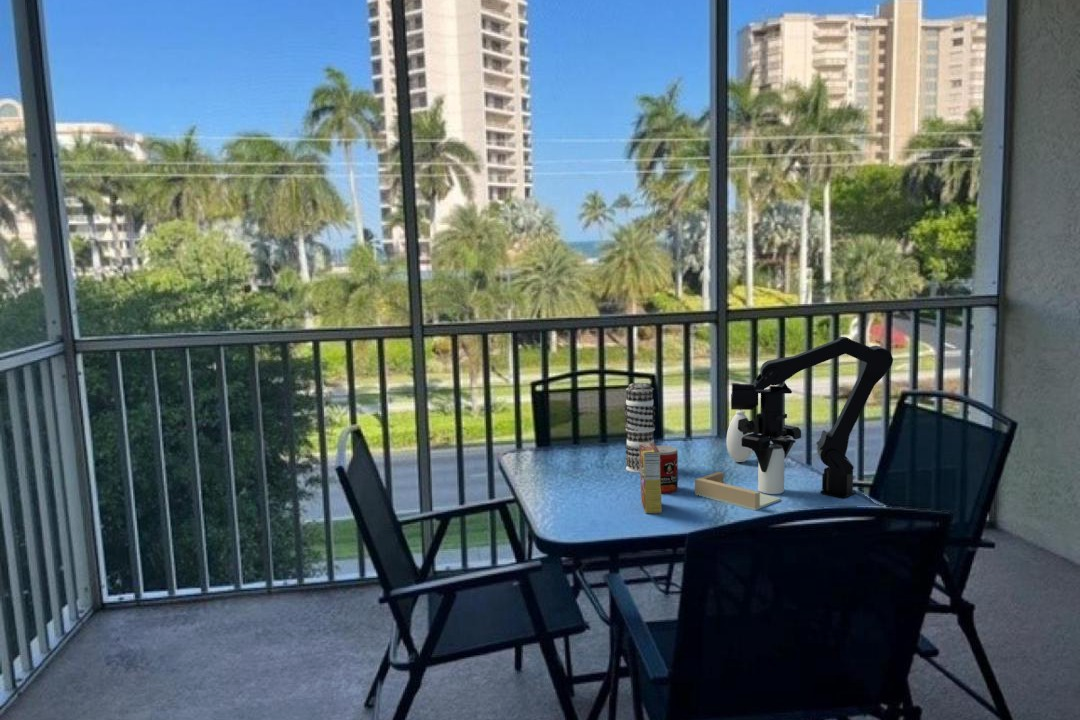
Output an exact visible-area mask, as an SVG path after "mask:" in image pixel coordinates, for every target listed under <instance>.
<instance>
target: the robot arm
mask: <svg viewBox="0 0 1080 720" xmlns="http://www.w3.org/2000/svg"><path fill="white" fill-rule="evenodd" d="M843 355H848V356H850V357H852V358H855V359H857V360H859V361H860V364H859V369H858V377H857V379H856V381H855V383H854V385H853V387H852V389H851V391H850V394H849V395H848V398H847V399H846V401H845V403H844V405H843V406H842V409H841V411H840V413H839V416H838V417H837V419H836V421H835V423H834V425H833V427H832V428H830V430H829V431H826V430H825V429H823V430H822V431H821V435H820V437H819V439H818V441H816V442H815V444H816V445H817V447H816V453H817V455H818V456H819V458H820V460H821V462H822V464H823V465H824V466H827V467H824V468H823V473H822V474H821V477H822V479H821V480H822V481H821V489H822V490H820V491H819V492H820V494H824V495H827V496H832V497H835V498H840V499H845V498H847V497H850V496H852V495H855V494H857V493H856V492H857V491H856V490H853V489H854V468H855V466H854V465H853V464H852V462H851V461H850V459H849V458H848V457H847V456H846V455H847V450H848V448H849V447H848V446H849V442H850V441H849V439H850V436H851V434H852V433H851V432H852V431H853V429H854V427H855V425H856V423H857V421H858V420H859V417H860V415H861V413H862V411H863V409H864V408H865V405H866V404H867V402H868V400H869V397H870V395H871V393H872V391H873V389H874V387H875V385H876V384H878V382H880V380H881V379H883V378H884V376H885V375H886V374H887V372H888V371H889V370H890V368H891V367H892V366H893V363H894V362H893V361H894V358H893V354H892V353H891V352H890V351H889V350H888V349H885V348H884V347H882V346H879V345H872V346H868V345H867V344H866V345H865V344H863V343H860V342H858V341H854V340H852V339H851V338H849V337H847V336H839V337H838V338H837V339H835V340H832V341H830V342H827V343H824V344H822V345H819V346H816V347H814V348H811V349H808V350H806V351H803V352H800V353H797V354H795V355H793V356H786V357H780V358H774V359H769V360H767V361H764V362H763V363H762V365H761V366H760V371H759V372H760V373H759V374H758V376H756V378H755V379H754V381H752V383H738V382H733V383H731V394H730V410H731V411H733V410H735V411H739V410H741V411H745V410H746V411H750V410H751V411H754V409H755V408H757V407H758V406H759V394H760V412H759V413H756V415H755V419H752V420H751V419H750V420H749V418H748V417H747V418H748V419H747V418H744V419H741V420H738V430H739V431H740V432H742V433H743V435H745V434H747V433H752V432H753V434H748V435H745V436H744V437H743V438H741V446H743V447H748V448H750V449H752V450H753V451H752V452H754V454H755V455H756V459H757V461H758V462H759V465H760V468H761V471H762V472H766V471H767V468H768V465H769V462H770V458H771V455H772V451H773V448H772V447H769V446H770V444H778V445H782V446H783V450H784V453H785V459H786V457H788V454H789V452H790V451H791V449H792V447H793V446H794V444H795V443H796V440H798V439H802V430H801V429H800V428H799V427H798V426H796V425H795V426H794V425H788V424H785V423H784V421H785V420H784V419H787V418H788V413H785V412H784V410H785V408H784V407H785V394H792V393H793V391H792V389H791V388H790V387H789V386H788V385H787V384H786V383H785V381H787V380H789V379H791V378H792V377H793V376H795V375H796V374H797V373H799V372H801V371H803V370H806V369H809V368H811V367H814V366H816V365H819V364H822V363H824V362H827V361H830V360H832V359H835V358H837V357H840V356H843ZM780 384H781V385H780ZM768 387H769V388H768ZM771 442H772V443H771Z"/></svg>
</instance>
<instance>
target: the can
mask: <svg viewBox="0 0 1080 720" xmlns="http://www.w3.org/2000/svg"><path fill="white" fill-rule="evenodd" d="M769 447H772V448H773V451H772V455H771V458H770V462H769V465H768V468H767V471H766V472H762V471H761V468H760V465H759V462H758V465H757V466H758V469H757V471H758V472H757V473H758V475H757V476H758V477H757V478H758V479H757V480H758V481H757V483H758V484H757V487H758V488H757V489H758V492H760V493H761V494H765V495H769V496H775V495H781V493H782V494H783V493H784V492H785V462H786V461H785V460H786V458H785V453H784V450H783V446H782V445H778V444H773V443H770V446H769Z"/></svg>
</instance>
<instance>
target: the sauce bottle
mask: <svg viewBox="0 0 1080 720" xmlns="http://www.w3.org/2000/svg"><path fill="white" fill-rule="evenodd" d="M744 418H747V419H748V420H749V418H748V417H747V415H746V411H745V410H735V414H734V415H733V416H732V418H731V421H730V423H729V426H728V428H727V433H726V449H727V452H728V454H729V456H730V458H731V459H733V461H734V462H736V463H738V462H743V463H744V462H746V461H747V460H748V459H749V458H750V457H751V455H752V453H753V452H754V451H753V450H752V449H750V448H748V447H743V446H741V438H743V437H744V436H745V435H748V434H754V432H752V433H747V434H745V435H743V433H742V432H740V431H739V430H738V420H741V419H744Z"/></svg>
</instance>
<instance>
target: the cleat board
mask: <svg viewBox="0 0 1080 720" xmlns="http://www.w3.org/2000/svg"><path fill="white" fill-rule="evenodd" d="M724 474H725V473H724V472H721V471H717V472H714V473H711V474H707V475H705V476H702V477H698V478H695V479H694V495H695V496H698V495H699V496H698V497H701V496H702V498H705V497H706V498H707V499H709V498H710V500H713V501H717V502H720V503H725V504H729V505H732V506H737V507H740V508H744V509H748V510H752V511H758V510H760V509H762V508H765V507H768V506H770V505H772V504H775V503H776V504H777V503H778V502H781V501H782V500H781V499H782V498H781V497H777V496H775V495H769V494H764V493H761V492H760V491H756V490H754V489H753V490H752V489H750V488H749V489H748V488H745V487H739V486H736V485H731V484H727V483H725V482H724V481H725V479H724Z"/></svg>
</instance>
